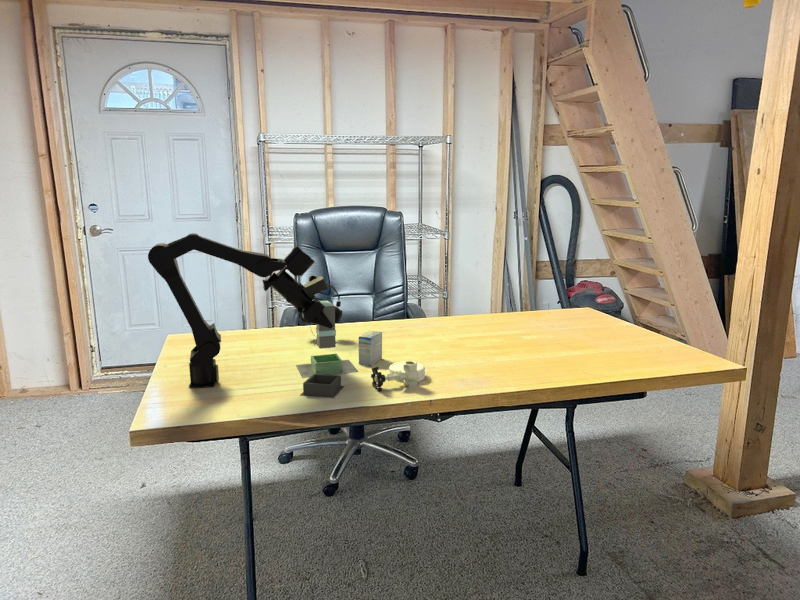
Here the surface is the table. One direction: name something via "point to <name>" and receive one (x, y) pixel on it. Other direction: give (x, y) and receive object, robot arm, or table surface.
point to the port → (326, 366)
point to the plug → (327, 334)
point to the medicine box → (370, 347)
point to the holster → (322, 386)
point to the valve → (397, 376)
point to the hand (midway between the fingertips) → (330, 325)
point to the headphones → (337, 311)
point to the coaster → (400, 366)
